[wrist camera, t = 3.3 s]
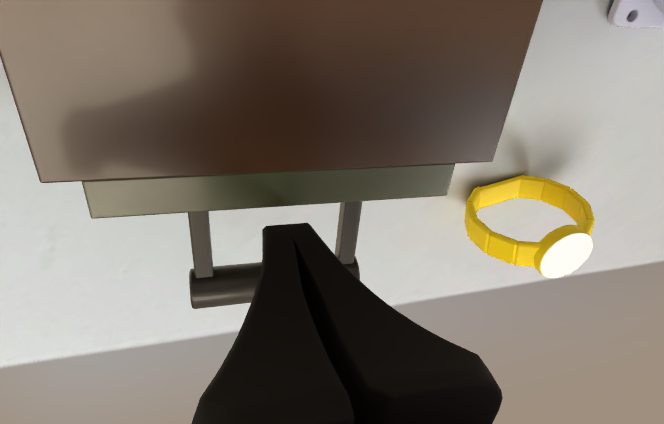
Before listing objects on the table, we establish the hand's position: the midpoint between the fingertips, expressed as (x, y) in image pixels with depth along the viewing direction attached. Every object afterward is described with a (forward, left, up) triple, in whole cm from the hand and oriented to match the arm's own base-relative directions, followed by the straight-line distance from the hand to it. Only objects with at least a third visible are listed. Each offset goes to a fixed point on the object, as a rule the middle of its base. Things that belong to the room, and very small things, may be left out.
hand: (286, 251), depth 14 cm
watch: (-14, +4, -9) cm, 17 cm away
